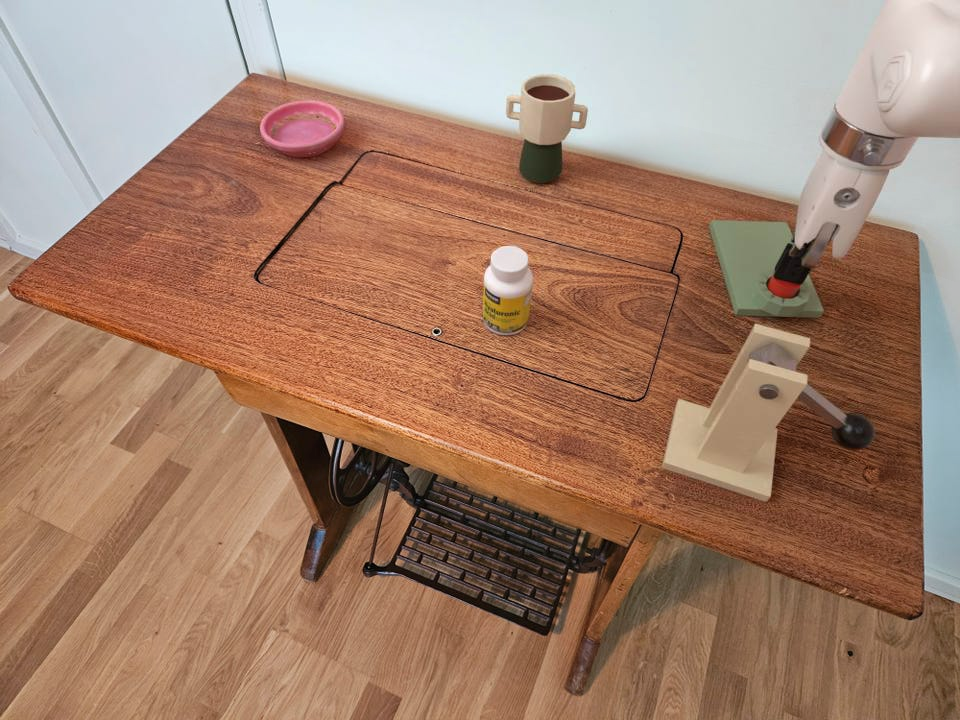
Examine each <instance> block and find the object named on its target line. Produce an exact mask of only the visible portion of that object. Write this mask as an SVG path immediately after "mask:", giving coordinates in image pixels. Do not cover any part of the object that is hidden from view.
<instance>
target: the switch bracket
mask: <svg viewBox="0 0 960 720" xmlns="http://www.w3.org/2000/svg"><path fill="white" fill-rule="evenodd" d="M771 342H775V343H776V344H777V345H778V346H780V347H781V348H782V349H783V350H785V351H786V352H787V353H788V354H789V355H791V356H792V357H793V358H794V359H796V360H797V365H796V367H798V365H799V364H800V362H801V361H802V359H803V358H804V356H805V355H806V354H807V352H808V350H809V349H810V348H811V338H810V337H806V336H804V335H803V336H802V335H800V334H795V333H792V332H789V331H784V330H781V329H777V328H773V327H771V326H770V327H769V326H765V325H762V324H758V323H754V325H753V327H752V329H751V330H750V332H749V334H748V336H747V338H746V340H745V341H744V343H743V346H742V347H741V349H740V351H739V352H738V354H737V356H736V358H735V360H734V362H733V364H732V366H731V367H730V369H729V371H728V373H727V374H726V377H725V379H724V380H723V382H722V384H721V386H720V387H719V389H718V391H717V392H716V395H715V396H714V398H713V400H712V402H711V404H710V405H709V407H707V406H704V405H702V404H697V403H694V402H690V401H687V400H683V399H680V398H678V399H677V401H676V403H675V406H674V411H673V414H672V420H671V424H670V428H669V432H668V437H667V441H666V445H665V450H664V454H663V459H662V463H661V469H663V470H666V471H669V472H673V473H676V474H678V475H682V476H684V477H688V478H691V479H695V480H697V481H699V482H703V483H706V484H709V485H713V486H716V487H719V488H722V489H725V490H727V491H731V492H733V493H736V494H740V495H743V496H746V497H749V498H752V499H755V500H758V501H761V502H764V503H767V502H768V501H769V499H770V498H771V497H772V490H773V489H772V488H773V479H774V478H773V477H774V469H775V459H776V449H777V441H778V431H779V430H778V428H776V427H778V425H779V424H780V422H781V421H782V420H783V418H784V417H785V416H786V414H787V412H788V411H789V410H790V408H791V407H792V406H793V404H794V403H795V402H796V400H797V399H798V398H797V397H798V396H799V395H800V393H801V392H802V391H803V389H804V388H805V387H806V385H807V384H808V376H809V375H808V374H805V373H802V372H798V371H796V372H795V371H792V370H788V369H784V368H781V367H777V366H774V365H770V364H767V363H763V362H760V361H756V360H752V359H750V360H749V362H748V359H749V353H750V352H752V351H755V350H757V349H759V348H761V347H763V346H765V345H767V344H769V343H771Z"/></svg>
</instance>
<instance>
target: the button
mask: <svg viewBox="0 0 960 720" xmlns="http://www.w3.org/2000/svg"><path fill="white" fill-rule="evenodd" d="M800 286H801V284H800V285H799V284H795V283H791V282H787V281H783V280H779V279H775V278H774V274H773V276H772V277H771V279H770V281H769V283H768V289H769V291H770V292H771V293H772V294H773V295H775V296H778V297H780V298H785V299H789V298H792V297H794V296H795V295H796V293H797V291H798V290H799V288H800Z"/></svg>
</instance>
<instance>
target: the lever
mask: <svg viewBox="0 0 960 720" xmlns="http://www.w3.org/2000/svg"><path fill="white" fill-rule="evenodd" d="M750 359H752V360H756V361H760V362H763V363H767V364H770V365H774V366H777V367H781V368H784V369H788V370H792V371H795V372H797V366H798V365H797V360H796V359H794V358H793V357H792V356H791V355H789V354H788V353H787V352H786V351H785V350H783V349H782V348H781V347H780V346H778V345H777V344H776V343H775V342H771V343H769V344H767V345H765V346H763V347H761V348H759V349H757V350H755V351H752V352H750V353H749V359H748V362H749V360H750ZM796 365H797V366H796ZM797 399H798V400H799V401H800V402H802V403H803V404H804V405H805V406H806V407H808V408H809V409H810V410H811V411H813V412H814V413H816V415H818V416H819V417H820V418H821V419H823V420H824V421H825V422H827V423H828V424H829V425H831V436H832V439H833V440H834V441H835V443H836V444H837V445H838V446H839V447H841V448H842V449H845V450H848V451H849V450H850V451H861V450H864V449H866V448H867V447H869V446H871V444H872V443H873V441H874V439H875V436H876V428H875V426H874V423H873V422H872V421H871V420H870V419H869V418H868V417H867V416H866V415H863V414H861V413H858V412H847V413H845V412H843V411H842V410H841V409H839V408H838V407H837V406H836V405H834V404H833V403H832V402H831V401H830V400H828V399H827V398H826V397H825V396H823V394H821V393H820V392H818V391H817V390H816V389H814V388H813V386H811V385H810V384H808V383H807V385H806V387H805V388H804V389H803V391H802V392H801V393H800V395H799V396H798V397H797Z"/></svg>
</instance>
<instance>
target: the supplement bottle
mask: <svg viewBox="0 0 960 720" xmlns="http://www.w3.org/2000/svg"><path fill="white" fill-rule="evenodd" d="M533 284H534V275H533V273H532V270H531V269H530V267H529V255H528V254H527V252H526V251H525V250H524V249H522V248H521V247H518V246H515V245H503V246H500V247H498V248H496V249H495V250H494V251H493V252H492V253H491V255H490V263H489V265H488V266H487V268H486V269H485V272H484V275H483V286H482V288H483V291H482V321H483V324H484V325H485V327H486V328H487V330H489V331H490V332H492V333H493V334H497V335H500V336H513V335H516V334H519V333H520V332H522V331H524V330H525V328H526V327H527V325H528V324H529V318H530V312H531V304H532V303H531V302H532V294H533Z"/></svg>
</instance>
